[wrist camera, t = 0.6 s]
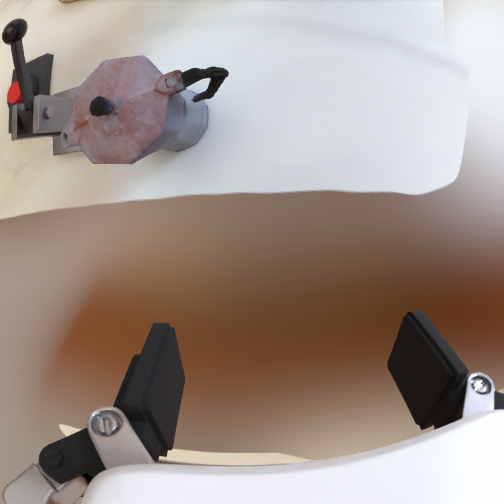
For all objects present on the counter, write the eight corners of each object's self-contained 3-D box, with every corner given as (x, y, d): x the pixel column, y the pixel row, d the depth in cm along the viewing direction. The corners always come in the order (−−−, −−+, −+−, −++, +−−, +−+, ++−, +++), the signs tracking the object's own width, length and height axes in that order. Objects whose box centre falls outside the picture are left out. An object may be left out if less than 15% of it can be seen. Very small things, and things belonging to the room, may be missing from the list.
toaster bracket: (57, 95, 30) (4, 89, 18) (104, 81, 30) (54, 66, 18) (57, 154, 34) (3, 166, 22) (103, 146, 34) (51, 153, 22)
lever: (13, 23, 12) (-5, 29, 10) (31, 12, 12) (13, 17, 10) (35, 124, 24) (21, 136, 22) (52, 118, 24) (38, 131, 22)
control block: (18, 70, 27) (6, 69, 23) (53, 54, 27) (41, 51, 24) (14, 132, 31) (1, 133, 28) (48, 121, 31) (35, 121, 28)
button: (14, 86, 25) (8, 85, 24) (28, 79, 25) (21, 78, 24) (13, 106, 27) (6, 106, 25) (26, 100, 27) (19, 99, 25)
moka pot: (118, 112, 32) (24, 101, 14) (220, 65, 31) (198, -4, 12) (141, 171, 36) (57, 203, 17) (245, 127, 34) (247, 110, 16)
